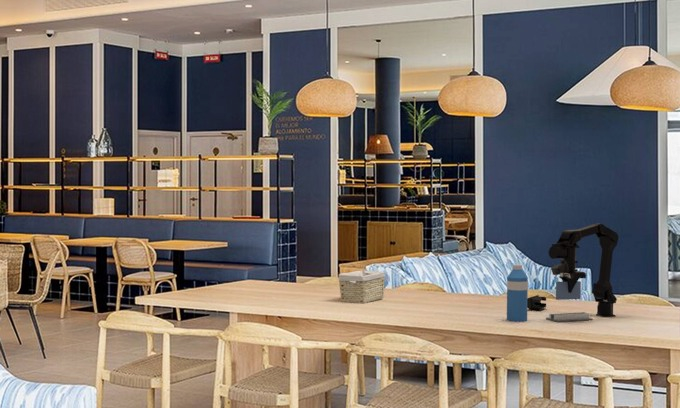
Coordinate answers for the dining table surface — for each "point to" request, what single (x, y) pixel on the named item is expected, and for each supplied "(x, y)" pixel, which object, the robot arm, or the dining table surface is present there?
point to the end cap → (536, 303)
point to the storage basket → (361, 286)
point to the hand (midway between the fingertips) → (568, 292)
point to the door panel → (563, 291)
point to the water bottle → (517, 295)
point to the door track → (569, 317)
